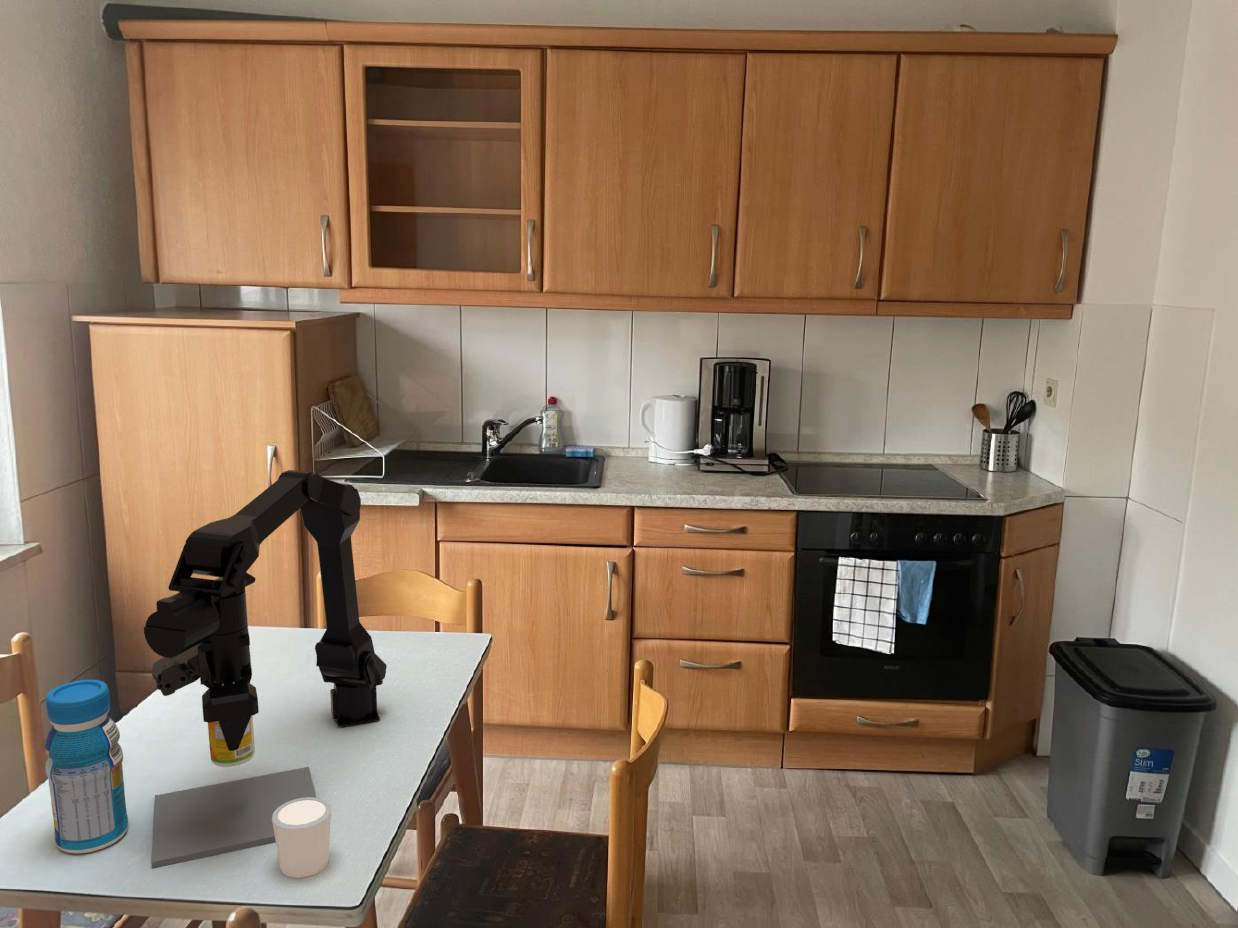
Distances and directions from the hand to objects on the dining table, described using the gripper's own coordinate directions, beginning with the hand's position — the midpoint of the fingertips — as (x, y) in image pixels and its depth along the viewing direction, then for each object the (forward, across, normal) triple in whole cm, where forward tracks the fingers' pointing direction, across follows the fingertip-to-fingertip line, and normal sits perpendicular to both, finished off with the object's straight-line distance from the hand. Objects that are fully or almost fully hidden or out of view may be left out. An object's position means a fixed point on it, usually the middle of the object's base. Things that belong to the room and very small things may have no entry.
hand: (232, 739), depth 124 cm
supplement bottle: (+3, 0, 0) cm, 3 cm away
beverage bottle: (+11, -2, -17) cm, 20 cm away
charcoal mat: (+11, 0, 0) cm, 11 cm away
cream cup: (+11, +14, +7) cm, 19 cm away
